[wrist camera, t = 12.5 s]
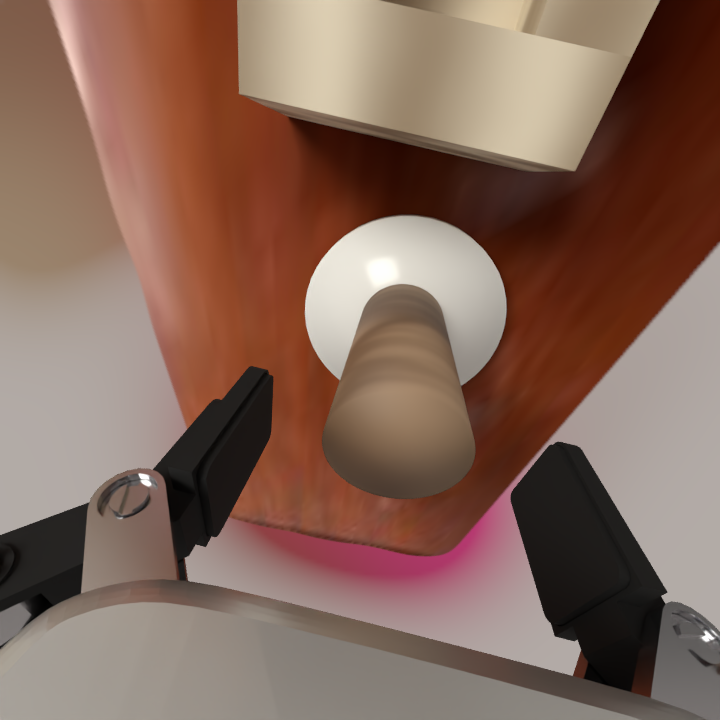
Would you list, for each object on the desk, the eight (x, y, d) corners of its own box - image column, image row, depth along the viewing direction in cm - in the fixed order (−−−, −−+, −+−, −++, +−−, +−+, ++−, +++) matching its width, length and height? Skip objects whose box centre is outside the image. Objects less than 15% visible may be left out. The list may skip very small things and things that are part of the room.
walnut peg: (418, 267, 17) (429, 365, 8) (458, 337, 18) (500, 477, 10) (345, 310, 18) (292, 427, 10) (387, 370, 20) (372, 510, 12)
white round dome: (446, 162, 15) (449, 161, 14) (530, 347, 19) (536, 357, 18) (273, 286, 20) (266, 292, 19) (372, 412, 24) (371, 423, 23)
